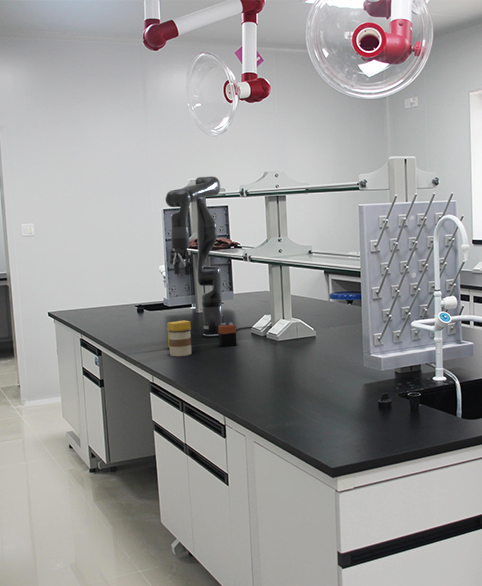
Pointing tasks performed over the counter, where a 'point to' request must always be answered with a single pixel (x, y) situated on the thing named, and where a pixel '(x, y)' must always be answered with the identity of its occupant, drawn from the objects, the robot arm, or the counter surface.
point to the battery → (227, 334)
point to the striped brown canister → (180, 342)
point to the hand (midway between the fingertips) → (182, 274)
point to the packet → (179, 325)
